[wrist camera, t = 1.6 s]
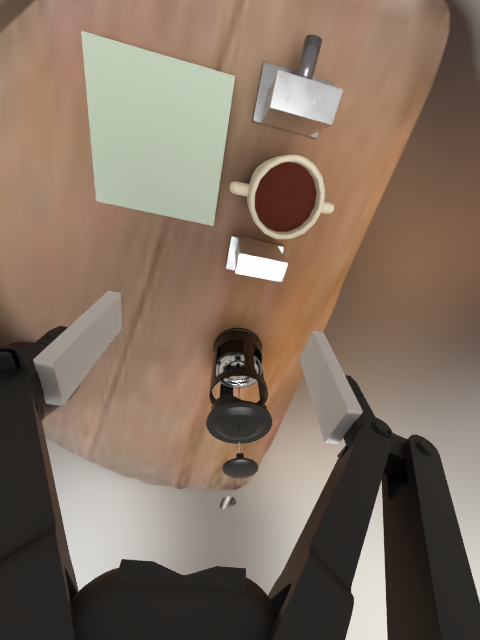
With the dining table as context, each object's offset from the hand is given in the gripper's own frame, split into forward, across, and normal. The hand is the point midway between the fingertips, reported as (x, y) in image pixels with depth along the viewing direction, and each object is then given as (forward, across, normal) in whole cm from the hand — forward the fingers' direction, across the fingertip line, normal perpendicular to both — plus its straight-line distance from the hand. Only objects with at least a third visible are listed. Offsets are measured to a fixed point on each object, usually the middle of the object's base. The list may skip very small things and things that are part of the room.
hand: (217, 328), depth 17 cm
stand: (+24, -10, +10) cm, 27 cm away
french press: (+24, +5, -20) cm, 32 cm away
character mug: (+24, +4, +8) cm, 26 cm away
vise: (+24, +4, +8) cm, 25 cm away
